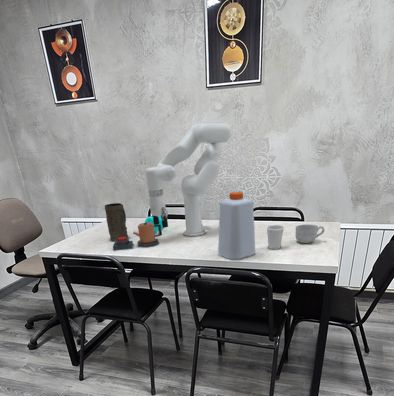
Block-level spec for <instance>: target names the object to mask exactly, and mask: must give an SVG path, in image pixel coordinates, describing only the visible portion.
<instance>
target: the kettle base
mask: <svg viewBox="0 0 394 396" xmlns="http://www.w3.org/2000/svg"><path fill="white" fill-rule="evenodd" d="M159 243H160V242H159V239H158V238H157V237H155V241H153V242H150V243H142V242H140V239H139V240H137V246H138V248H152V247H157V246H158V245H159Z"/></svg>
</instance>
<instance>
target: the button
mask: <svg viewBox="0 0 394 396" xmlns="http://www.w3.org/2000/svg"><path fill="white" fill-rule="evenodd" d="M118 240H119V241H120V242H122V241H126V237H119V238H118Z"/></svg>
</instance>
